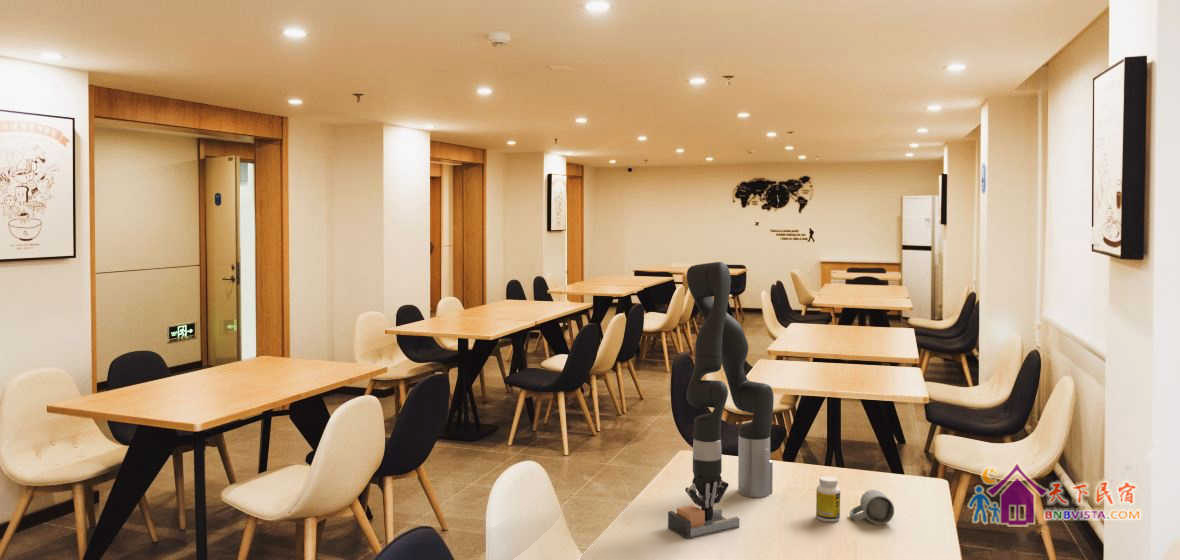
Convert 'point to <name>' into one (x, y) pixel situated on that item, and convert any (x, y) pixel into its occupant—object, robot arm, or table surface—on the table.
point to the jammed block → (692, 514)
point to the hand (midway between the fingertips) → (706, 519)
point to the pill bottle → (828, 500)
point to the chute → (710, 527)
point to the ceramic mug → (874, 508)
